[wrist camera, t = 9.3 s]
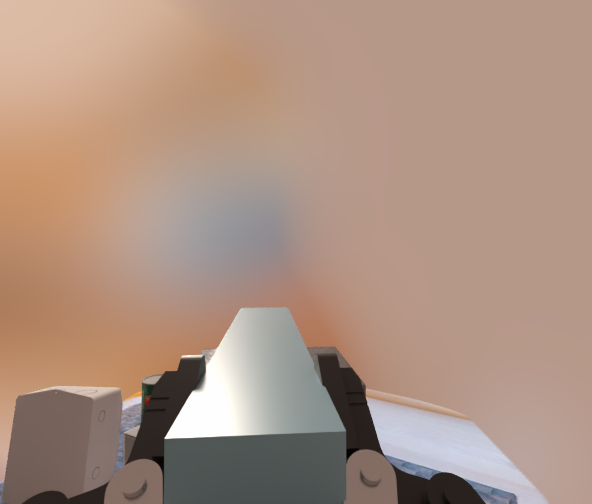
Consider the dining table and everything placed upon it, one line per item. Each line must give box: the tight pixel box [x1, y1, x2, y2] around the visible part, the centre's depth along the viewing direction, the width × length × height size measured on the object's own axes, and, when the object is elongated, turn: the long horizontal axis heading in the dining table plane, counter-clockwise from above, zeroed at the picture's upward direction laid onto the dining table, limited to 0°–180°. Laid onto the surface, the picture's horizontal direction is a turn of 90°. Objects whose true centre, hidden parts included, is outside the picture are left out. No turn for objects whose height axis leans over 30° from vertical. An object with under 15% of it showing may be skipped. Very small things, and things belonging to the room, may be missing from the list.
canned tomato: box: [141, 374, 163, 422], centre depth 94 cm, size 8×8×11 cm
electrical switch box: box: [2, 386, 122, 504], centre depth 68 cm, size 15×15×20 cm
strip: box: [164, 308, 346, 504], centre depth 19 cm, size 22×4×3 cm, turn 5°
